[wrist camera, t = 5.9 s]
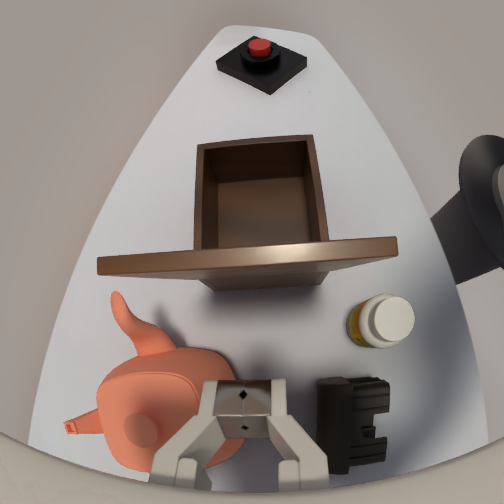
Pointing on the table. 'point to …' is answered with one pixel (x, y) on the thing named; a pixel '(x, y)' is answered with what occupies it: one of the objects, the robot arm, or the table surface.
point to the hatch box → (259, 202)
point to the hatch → (251, 259)
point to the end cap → (350, 421)
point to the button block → (262, 66)
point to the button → (259, 47)
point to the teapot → (151, 394)
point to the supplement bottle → (380, 321)
